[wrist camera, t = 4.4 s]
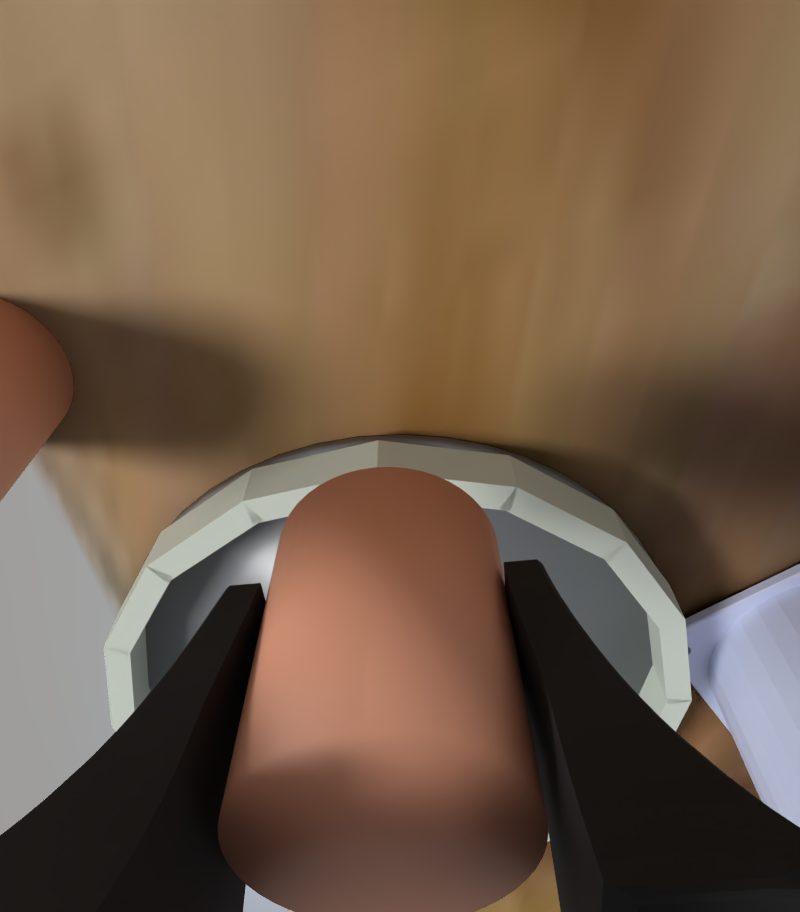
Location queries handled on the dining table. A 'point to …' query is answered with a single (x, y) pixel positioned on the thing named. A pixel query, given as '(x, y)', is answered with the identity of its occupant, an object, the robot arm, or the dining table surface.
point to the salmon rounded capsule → (385, 710)
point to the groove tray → (513, 546)
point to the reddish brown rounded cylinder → (28, 390)
